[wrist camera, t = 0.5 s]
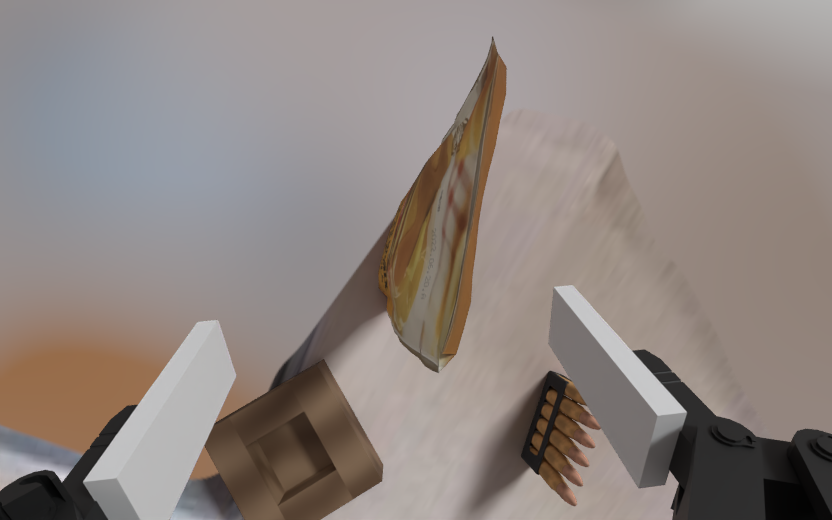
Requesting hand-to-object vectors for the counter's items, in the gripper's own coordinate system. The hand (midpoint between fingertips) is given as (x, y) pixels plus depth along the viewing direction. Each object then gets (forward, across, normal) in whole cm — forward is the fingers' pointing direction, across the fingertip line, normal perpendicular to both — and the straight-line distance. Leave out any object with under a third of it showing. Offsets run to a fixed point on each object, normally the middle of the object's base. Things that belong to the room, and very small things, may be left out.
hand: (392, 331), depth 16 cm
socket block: (+21, +13, +29) cm, 38 cm away
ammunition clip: (+21, -16, +29) cm, 39 cm away
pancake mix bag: (+32, -3, +10) cm, 33 cm away
